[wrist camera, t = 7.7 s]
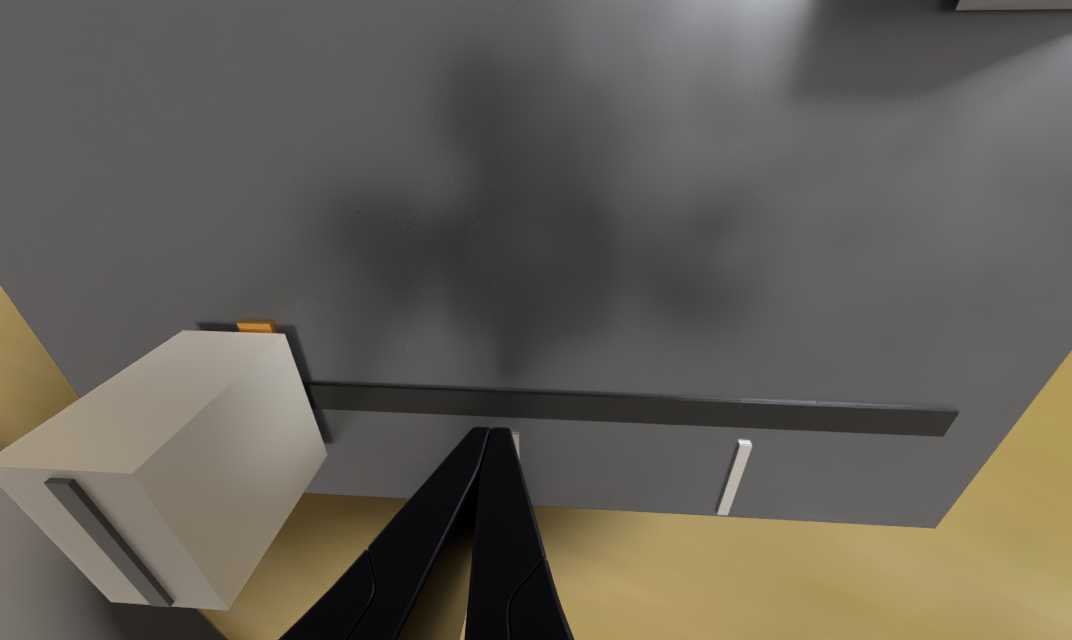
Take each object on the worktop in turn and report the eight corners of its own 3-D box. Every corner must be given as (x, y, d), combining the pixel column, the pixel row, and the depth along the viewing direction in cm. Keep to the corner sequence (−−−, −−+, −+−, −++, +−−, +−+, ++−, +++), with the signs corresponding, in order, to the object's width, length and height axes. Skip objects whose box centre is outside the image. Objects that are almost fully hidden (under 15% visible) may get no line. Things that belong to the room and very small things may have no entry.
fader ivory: (327, 454, 12) (225, 616, 8) (242, 450, 12) (106, 607, 8) (284, 333, 10) (126, 479, 6) (183, 330, 10) (-29, 470, 6)
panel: (899, 484, 13) (938, 532, 12) (178, 447, 15) (137, 486, 13) (1660, -702, 4) (2196, -1083, 3) (-395, -507, 6) (-712, -698, 4)
